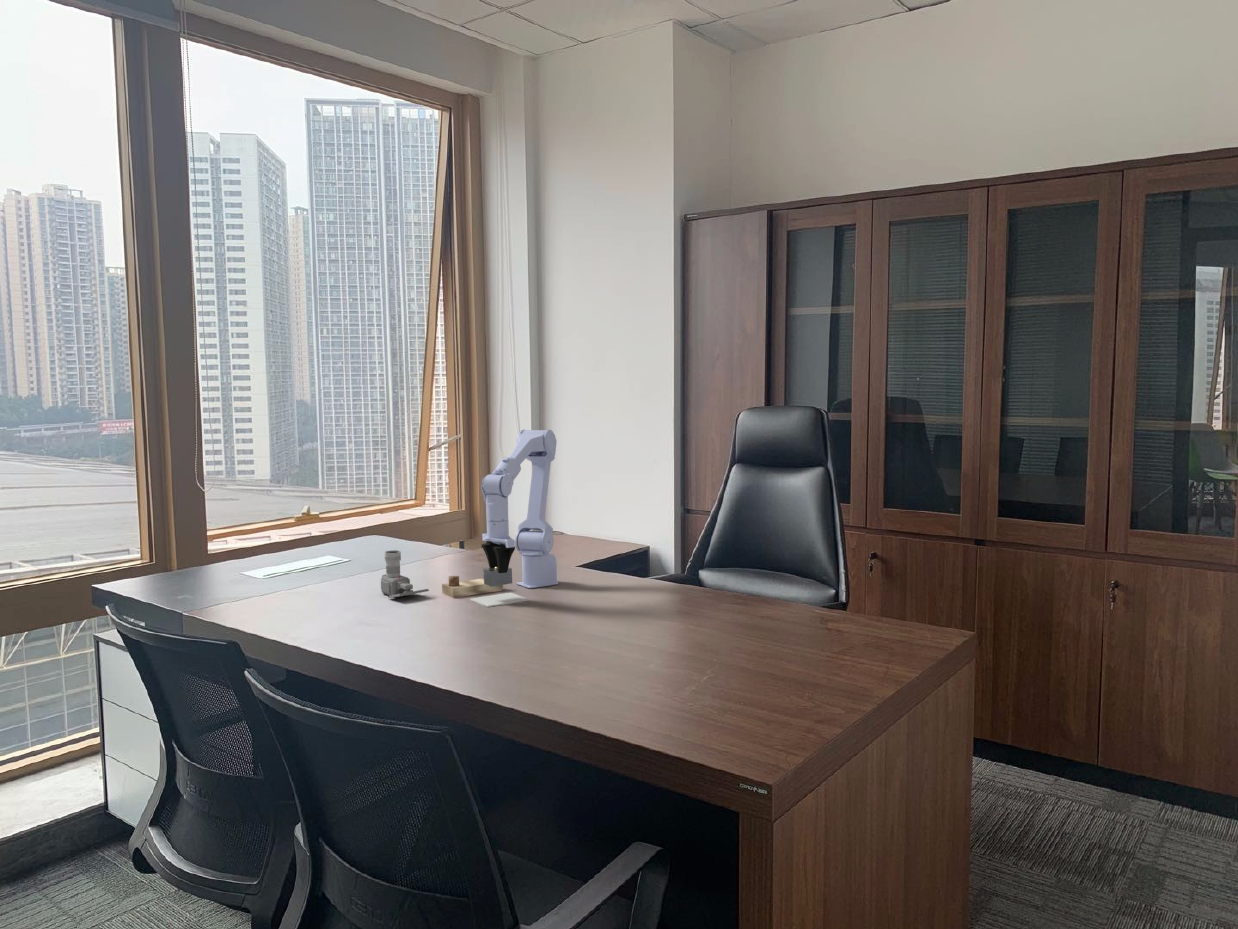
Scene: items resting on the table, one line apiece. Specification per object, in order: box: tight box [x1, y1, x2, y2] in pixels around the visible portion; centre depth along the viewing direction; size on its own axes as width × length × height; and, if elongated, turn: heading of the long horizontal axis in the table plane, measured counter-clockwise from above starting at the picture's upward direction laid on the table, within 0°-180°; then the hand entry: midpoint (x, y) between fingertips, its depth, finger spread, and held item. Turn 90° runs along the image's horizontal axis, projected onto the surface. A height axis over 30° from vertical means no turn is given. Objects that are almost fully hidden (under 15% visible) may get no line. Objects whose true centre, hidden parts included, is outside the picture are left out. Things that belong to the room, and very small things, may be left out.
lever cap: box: [483, 567, 513, 587], centre depth 246 cm, size 6×4×4 cm
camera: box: [380, 549, 430, 599], centre depth 253 cm, size 9×12×15 cm
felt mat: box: [470, 592, 529, 608], centre depth 246 cm, size 12×10×1 cm
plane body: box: [441, 567, 504, 599], centre depth 257 cm, size 15×7×6 cm, turn 125°
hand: (498, 571), depth 246 cm, fingers closed on lever cap, 4 cm apart
